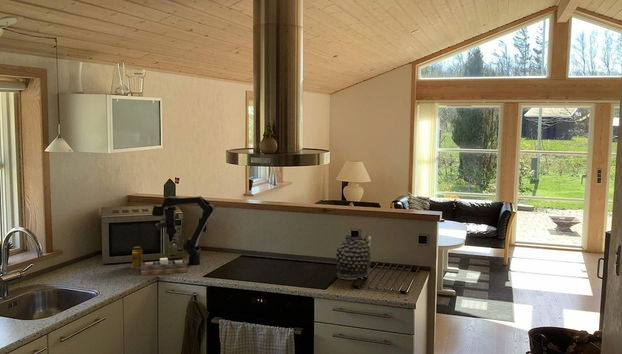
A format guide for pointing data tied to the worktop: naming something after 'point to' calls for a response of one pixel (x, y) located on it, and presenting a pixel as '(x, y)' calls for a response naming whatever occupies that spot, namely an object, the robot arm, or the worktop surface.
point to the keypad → (164, 268)
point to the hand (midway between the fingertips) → (170, 242)
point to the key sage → (178, 261)
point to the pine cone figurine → (353, 257)
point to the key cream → (163, 261)
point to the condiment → (137, 257)
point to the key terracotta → (148, 263)
